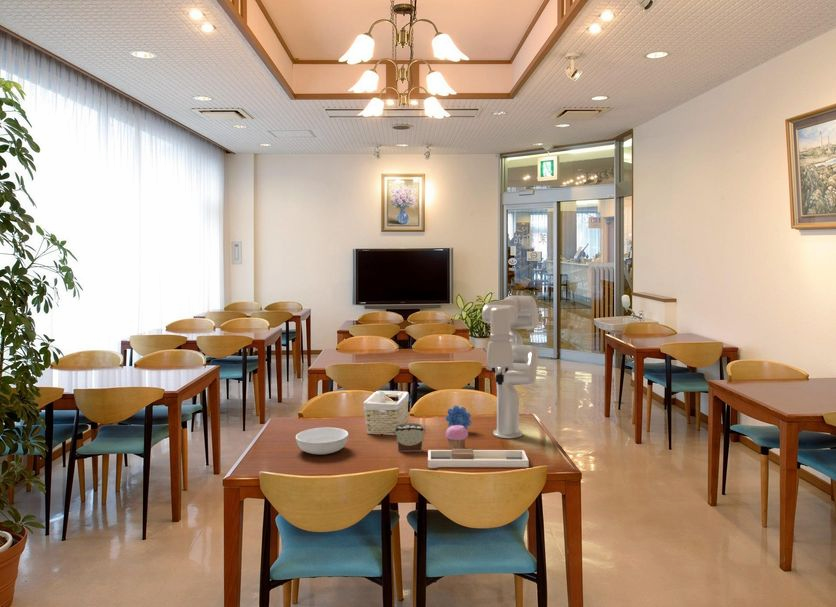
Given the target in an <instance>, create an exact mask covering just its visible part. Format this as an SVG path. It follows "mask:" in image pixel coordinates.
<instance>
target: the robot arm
mask: <svg viewBox="0 0 836 607" xmlns="http://www.w3.org/2000/svg"><path fill="white" fill-rule="evenodd" d="M481 317H482V320H483V322H484V323H486V324H490V334H489V335H490V339H489V340H488V343H487V347H486V349H487V350H486V367H485V368H486V370H488V371H492V372H493V373H494V377H495V383H496V429H494V430H493V431H492V433H493V434H492V435H493V436H495V437H497V438H502V439H517V438H520V437H522V436H523V431H522V430H520V394H519V392H518V390H517V389H516V387H515V386H525V387H527V386H529V387H530V386H532V385H534V384H535V382H536V379H537V372H538V362H539V352H538V349H537V347H535V346H534V345H531V344H524V339H523V337H522V335H521V334H520V333H519V332H518V331H517V330H515V329H518V330H519V329H522V330H523V329H524V330H527V329H528V330H534V329H536V328H537V327H538V325H539V322H540V321H539V318H540V317H539V313H538V307H537V302H536V300H535V298H534V297H533V296H531V295H508V296H506V297H505V298H504V299H501V300H496V301H490V302H489V301H488V302H487V303H485V305H484V306H483V307H482V310H481Z"/></svg>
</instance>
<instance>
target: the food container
mask: <svg viewBox="0 0 836 607" xmlns="http://www.w3.org/2000/svg"><path fill="white" fill-rule="evenodd" d="M395 431H396V435H395V436H396V443H397V444H396V445H397V451H398V452H422V451H423V442H424V441H423V440H424V432H426V429H425V426H424V425H423V424H422V423H421V424H420V423H416V422H407V423H403V424H399V425H397V426H396V428H395Z"/></svg>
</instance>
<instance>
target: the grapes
mask: <svg viewBox="0 0 836 607" xmlns="http://www.w3.org/2000/svg"><path fill="white" fill-rule="evenodd" d="M471 417H472V416H471V413H470V412H467V409H466V407H464V406H461V407H459V406H458V405H454V406H453V407H452V408H449V409H448V410H447V415H446V416H445V420H446V421H447V422H448V428H449V427H451V426H454V425H461V426H464V427H465V428H466V430H467V431H468V429H469V428H468V427H469V426H470V427H471V425H472V420H471Z"/></svg>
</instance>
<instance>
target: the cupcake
mask: <svg viewBox="0 0 836 607" xmlns="http://www.w3.org/2000/svg"><path fill="white" fill-rule="evenodd" d="M468 437H469V432H468V429H467V430H466V428H465V427H464V426H461V425H454V426H451V427H449V426H448V428H447V429H446V431H445V438H446V439H447V442H448V446H449V448H450V450H452V449H466V448H465V446H466V439H467V438H468Z"/></svg>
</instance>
